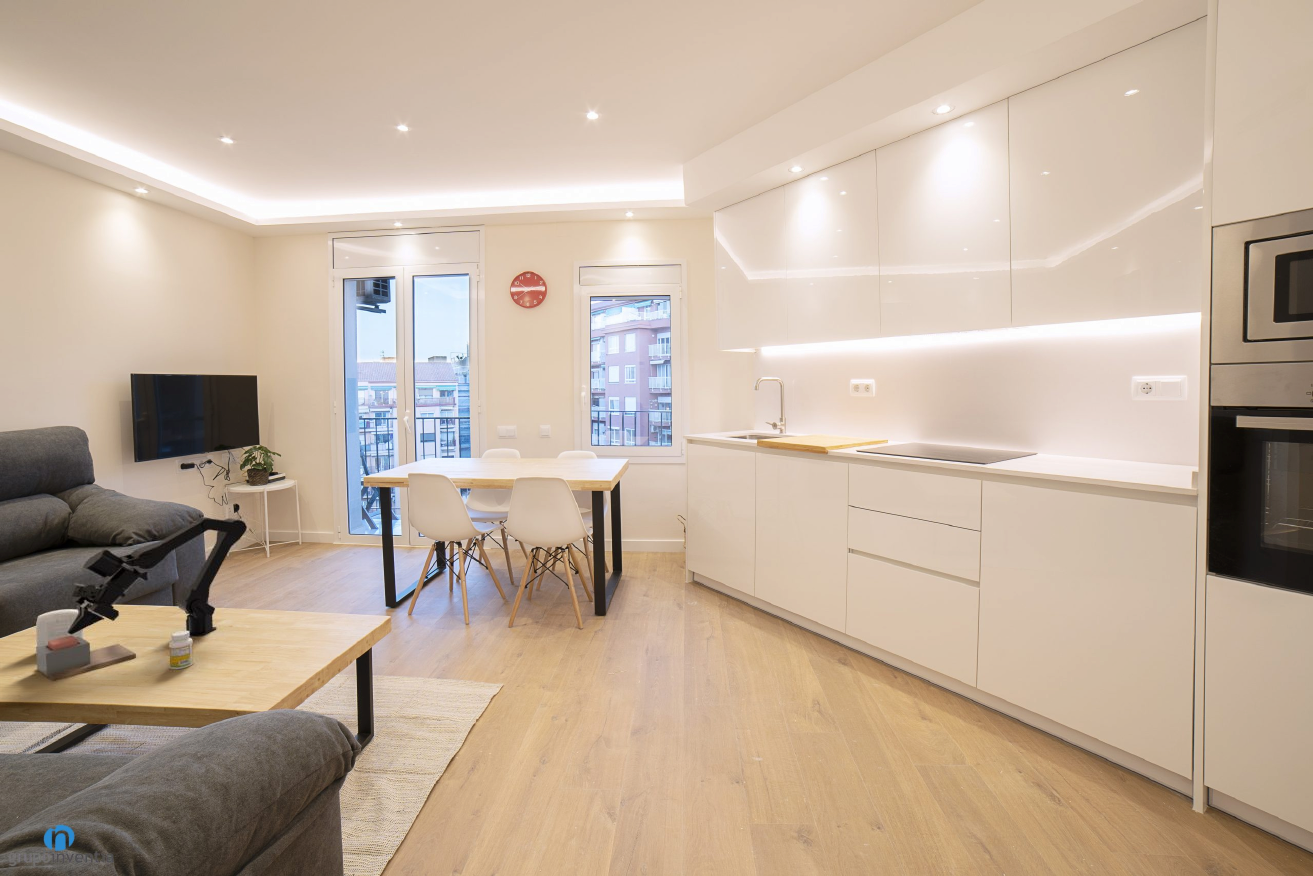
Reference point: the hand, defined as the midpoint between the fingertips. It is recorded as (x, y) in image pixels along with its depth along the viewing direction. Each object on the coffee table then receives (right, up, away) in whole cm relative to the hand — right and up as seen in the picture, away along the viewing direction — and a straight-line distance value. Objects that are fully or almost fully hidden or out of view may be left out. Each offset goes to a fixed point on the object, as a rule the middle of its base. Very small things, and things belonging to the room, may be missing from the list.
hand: (69, 633), depth 169 cm
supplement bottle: (+31, -10, +2) cm, 33 cm away
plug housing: (-1, -9, -1) cm, 9 cm away
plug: (-1, -7, -1) cm, 8 cm away
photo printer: (-16, -10, +13) cm, 23 cm away
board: (+2, -10, +4) cm, 11 cm away
